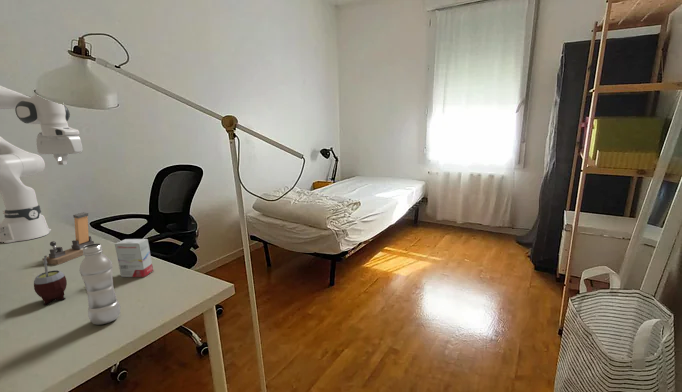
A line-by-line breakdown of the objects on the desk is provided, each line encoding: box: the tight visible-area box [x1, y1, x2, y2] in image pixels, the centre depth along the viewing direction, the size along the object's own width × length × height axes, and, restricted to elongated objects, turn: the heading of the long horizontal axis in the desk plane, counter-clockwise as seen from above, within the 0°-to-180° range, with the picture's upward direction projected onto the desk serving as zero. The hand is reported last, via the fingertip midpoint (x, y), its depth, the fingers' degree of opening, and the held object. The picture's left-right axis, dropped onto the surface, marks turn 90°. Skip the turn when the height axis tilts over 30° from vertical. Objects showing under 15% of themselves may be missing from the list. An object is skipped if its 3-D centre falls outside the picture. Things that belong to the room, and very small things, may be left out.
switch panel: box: [42, 235, 95, 266], centre depth 130 cm, size 7×16×6 cm, turn 167°
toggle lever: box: [49, 240, 57, 251], centre depth 125 cm, size 2×2×4 cm
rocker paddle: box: [72, 211, 90, 244], centre depth 133 cm, size 2×4×12 cm, turn 167°
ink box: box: [114, 238, 154, 278], centre depth 110 cm, size 9×5×12 cm, turn 84°
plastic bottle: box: [79, 242, 121, 326], centre depth 82 cm, size 6×7×20 cm
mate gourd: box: [33, 255, 68, 306], centre depth 94 cm, size 8×8×15 cm
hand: (62, 164), depth 141 cm, fingers closed
